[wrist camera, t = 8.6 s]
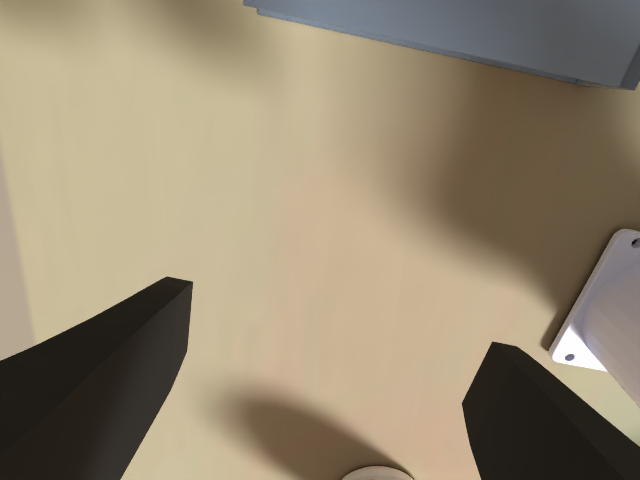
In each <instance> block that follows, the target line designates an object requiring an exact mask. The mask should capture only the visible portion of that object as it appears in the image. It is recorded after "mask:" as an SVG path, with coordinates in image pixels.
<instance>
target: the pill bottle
mask: <svg viewBox="0 0 640 480" xmlns="http://www.w3.org/2000/svg"><path fill="white" fill-rule="evenodd" d="M342 480H413V479H412V478H411V477H410V476H409V475H407V474H405V473H404V472H402V471H399V470H397V469H394V468H390V467H384V466H369V467H364V468H361V469H358V470H355V471H353V472H351V473H349V474H348V475H346V476H345V477H344V478H343V479H342Z"/></svg>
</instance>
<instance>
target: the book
mask: <svg viewBox="0 0 640 480" xmlns="http://www.w3.org/2000/svg"><path fill="white" fill-rule="evenodd" d="M243 5H245V6H249V7H253V8H258V14H260V15H264V16H269V17H273V18H278V19H282V20H287V21H292V22H296V23H301V24H305V25H310V26H314V27H319V28H324V29H328V30H333V31H337V32H342V33H346V34H351V35H355V36H360V37H365V38H369V39H374V40H378V41H383V42H387V43H392V44H397V45H401V46H406V47H410V48H415V49H419V50H424V51H429V52H433V53H438V54H442V55H447V56H451V57H456V58H461V59H465V60H470V61H474V62H479V63H483V64H488V65H492V66H497V67H502V68H506V69H511V70H515V71H520V72H524V73H529V74H534V75H538V76H543V77H547V78H552V79H556V80H561V81H566V82H570V83H575V84H579V85H584V86H588V87H600V88H612V89H623V90H635V89H636V87H637V85H638V83H639V81H640V0H243Z"/></svg>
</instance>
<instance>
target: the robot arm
mask: <svg viewBox="0 0 640 480" xmlns="http://www.w3.org/2000/svg"><path fill="white" fill-rule="evenodd" d="M637 238H638V239H637ZM635 239H637V241H636V242H635V243H634V244H632V242H633V241H634V240H635ZM631 244H632V245H631ZM192 289H193V282H192V281H187V280H182V279H176V278H171V277H165V278H163V279H161V280H159V281H157V282H156V283H154V284H152V285H150V286H148V287H147V288H145V289H143V290H141V291H140V292H138V293H136V294H134V295H133V296H131V297H129V298H127V299H125V300H124V301H122V302H120V303H118V304H116V305H114V306H113V307H111V308H109V309H107V310H105V311H103V312H102V313H100V314H98V315H96V316H94V317H92V318H91V319H89V320H87V321H85V322H83V323H80V324H78V325H76V326H74V327H72V328H70V329H68V330H66V331H64V332H62V333H60V334H58V335H56V336H54V337H52V338H50V339H48V340H46V341H44V342H42V343H40V344H38V345H35V346H33V347H31V348H29V349H27V350H24V351H23V352H20V353H18V354H15V355H13V356H11V357H8V358H6V359H4V360H1V361H0V480H120V479H121V477H122V476H123V474H124V472H125V470H126V469H127V467H128V465H129V463H130V462H131V460H132V458H133V456H134V455H135V453H136V451H137V449H138V448H139V446H140V444H141V442H142V440H143V439H144V437H145V435H146V433H147V432H148V430H149V428H150V426H151V425H152V423H153V421H154V419H155V418H156V416H157V414H158V412H159V410H160V409H161V407H162V405H163V403H164V401H165V400H166V398H167V396H168V394H169V392H170V391H171V388H172V386H173V384H174V381H175V379H176V377H177V374H178V372H179V370H180V367H181V365H182V362H183V360H184V357H185V355H186V352H187V346H188V335H189V323H190V312H191V300H192ZM548 353H549V356H550V357H551V359H552V360H553V361H555V362H559V363H564V364H570V365H575V366H581V367H586V368H591V369H597V370H602V371H608V372H609V374H610V375H611V376H612V377H613V378H614V379H615V380H616V382H617V383H618V384H619V385H620V386H621V387H622V388H623V389H624V391H625V392H626V393H627V394H628V395H629V396H630V397H631V399H632V400H633V401H634V402H635V403H636V404H637V405H638V406H639V408H640V231H636V230H631V229H621V230H619V231H617V232H616V233H615V234H614V235H613V236H612V238H611V240H610V242H609V243H608V245H607V247H606V249H605V251H604V252H603V254H602V256H601V258H600V260H599V261H598V263H597V265H596V267H595V268H594V270H593V272H592V274H591V276H590V277H589V279H588V281H587V283H586V285H585V286H584V288H583V290H582V292H581V294H580V295H579V297H578V299H577V301H576V303H575V304H574V306H573V308H572V310H571V312H570V313H569V315H568V317H567V319H566V320H565V322H564V324H563V326H562V328H561V329H560V331H559V333H558V335H557V337H556V338H555V340H554V342H553V344H552V346H551V347H550V349H549V352H548ZM567 354H569V355H568V356H566V355H567ZM462 407H463V412H464V418H465V423H466V429H467V433H468V438H469V442H470V446H471V450H472V453H473V456H474V459H475V462H476V465H477V468H478V471H479V474H480V477H481V480H640V447H639V446H638V445H637V444H636V443H634V442H633V441H632V440H630V439H629V438H628V437H627V436H626V435H624V434H623V433H622V432H621V431H619V430H618V429H617V428H616V427H615V426H613V425H612V424H611V423H610V422H608V421H607V420H606V419H605V418H604V417H602V416H601V415H600V414H599V413H598V412H597V411H595V410H594V409H593V408H592V407H591V406H589V405H588V404H587V403H586V402H585V401H583V400H582V399H581V398H580V397H579V396H578V395H576V394H575V393H574V392H573V391H572V390H570V389H569V388H568V387H567V386H566V385H565V384H563V383H562V382H561V381H560V380H559V379H558V378H556V377H555V376H554V375H553V374H552V373H550V372H549V371H548V370H547V369H546V368H544V367H543V366H542V365H541V364H539V363H538V362H537V361H536V360H534V359H533V358H532V357H531V356H529V355H528V354H527V353H525V352H524V351H523V350H521V349H520V348H518V347H517V346H512V345H507V344H502V343H497V342H492V343H491V345H490V347H489V350H488V352H487V354H486V356H485V358H484V360H483V362H482V364H481V366H480V368H479V370H478V372H477V374H476V376H475V378H474V380H473V382H472V384H471V386H470V388H469V390H468V392H467V394H466V396H465V398H464V400H463V402H462Z"/></svg>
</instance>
